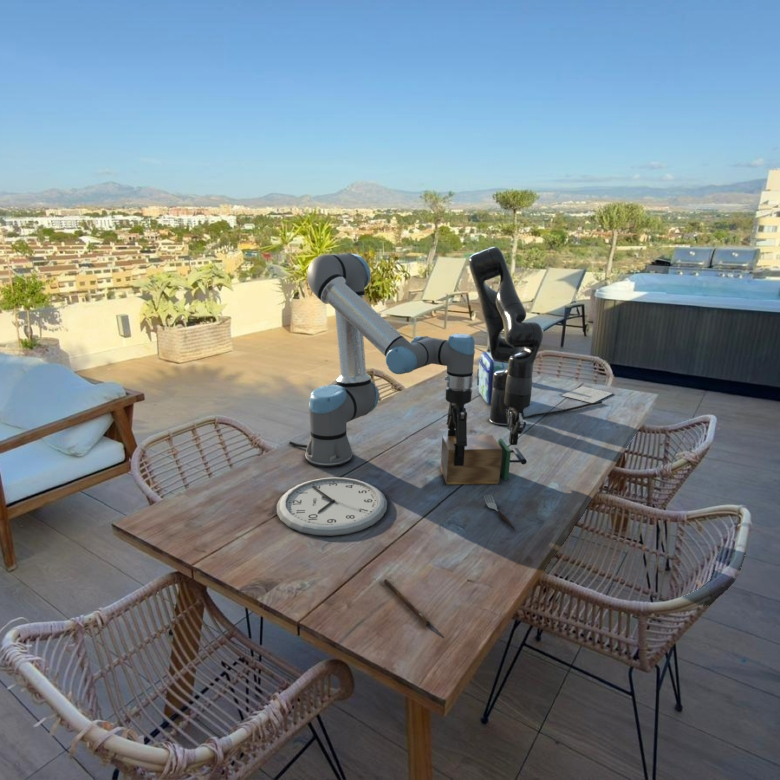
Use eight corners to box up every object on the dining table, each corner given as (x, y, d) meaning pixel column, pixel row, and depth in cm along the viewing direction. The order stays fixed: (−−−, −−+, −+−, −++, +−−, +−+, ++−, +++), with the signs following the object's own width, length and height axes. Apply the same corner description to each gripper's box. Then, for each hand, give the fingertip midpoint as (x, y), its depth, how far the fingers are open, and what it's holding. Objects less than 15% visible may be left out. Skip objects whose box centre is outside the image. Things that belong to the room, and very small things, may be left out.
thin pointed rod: (383, 582, 112) (383, 578, 112) (385, 582, 112) (385, 578, 112) (426, 626, 100) (426, 621, 100) (428, 625, 100) (428, 620, 100)
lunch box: (475, 390, 246) (478, 346, 240) (498, 390, 246) (501, 347, 240) (484, 408, 221) (487, 360, 215) (509, 409, 221) (513, 360, 215)
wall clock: (392, 527, 129) (268, 531, 127) (391, 533, 130) (269, 537, 127) (383, 473, 158) (282, 475, 155) (383, 478, 158) (282, 480, 156)
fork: (509, 531, 131) (510, 524, 131) (482, 501, 146) (482, 494, 145) (519, 530, 132) (519, 523, 132) (491, 499, 147) (491, 493, 146)
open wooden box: (489, 467, 167) (492, 435, 164) (499, 483, 157) (502, 449, 153) (440, 468, 166) (442, 435, 162) (446, 484, 156) (448, 449, 152)
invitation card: (582, 386, 254) (612, 393, 244) (582, 386, 255) (612, 393, 244) (561, 395, 240) (592, 402, 230) (561, 395, 240) (592, 403, 230)
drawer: (516, 465, 167) (518, 438, 164) (525, 479, 158) (528, 450, 155) (453, 466, 165) (455, 439, 162) (459, 480, 156) (461, 451, 153)
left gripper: (439, 376, 163) (436, 442, 170) (453, 400, 141) (449, 474, 148) (463, 376, 164) (459, 441, 170) (481, 400, 142) (475, 474, 148)
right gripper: (499, 383, 160) (495, 436, 165) (512, 396, 147) (507, 453, 152) (523, 383, 161) (518, 435, 166) (538, 396, 148) (532, 453, 153)
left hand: (454, 457), depth 159 cm, fingers closed on open wooden box, 11 cm apart
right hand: (513, 444), depth 159 cm, fingers closed
